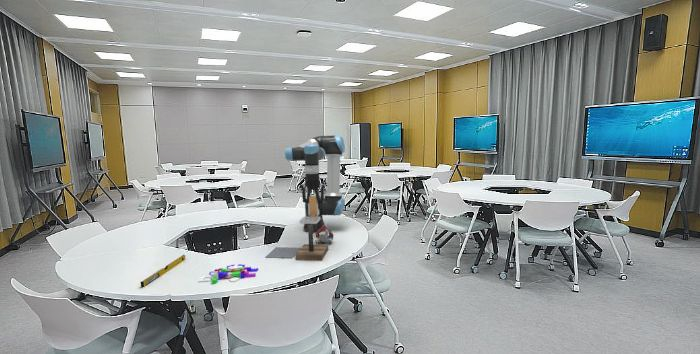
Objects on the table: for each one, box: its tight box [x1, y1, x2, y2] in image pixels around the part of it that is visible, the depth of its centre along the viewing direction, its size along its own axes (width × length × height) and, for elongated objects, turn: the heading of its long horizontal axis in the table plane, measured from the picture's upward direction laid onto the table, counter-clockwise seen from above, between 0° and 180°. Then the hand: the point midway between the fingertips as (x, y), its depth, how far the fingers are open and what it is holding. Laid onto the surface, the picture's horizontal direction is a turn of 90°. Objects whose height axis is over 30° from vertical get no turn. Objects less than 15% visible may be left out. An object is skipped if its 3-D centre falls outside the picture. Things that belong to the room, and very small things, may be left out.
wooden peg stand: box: [294, 225, 329, 262], centre depth 183 cm, size 17×14×17 cm
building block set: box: [197, 263, 259, 285], centre depth 161 cm, size 25×20×4 cm
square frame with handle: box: [299, 195, 321, 225], centre depth 181 cm, size 14×9×12 cm, turn 172°
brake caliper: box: [314, 224, 334, 246], centre depth 203 cm, size 11×11×12 cm
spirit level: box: [140, 254, 186, 288], centre depth 165 cm, size 33×1×3 cm, turn 176°
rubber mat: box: [264, 246, 301, 259], centre depth 188 cm, size 16×15×1 cm
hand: (313, 214), depth 187 cm, fingers closed on square frame with handle, 4 cm apart
